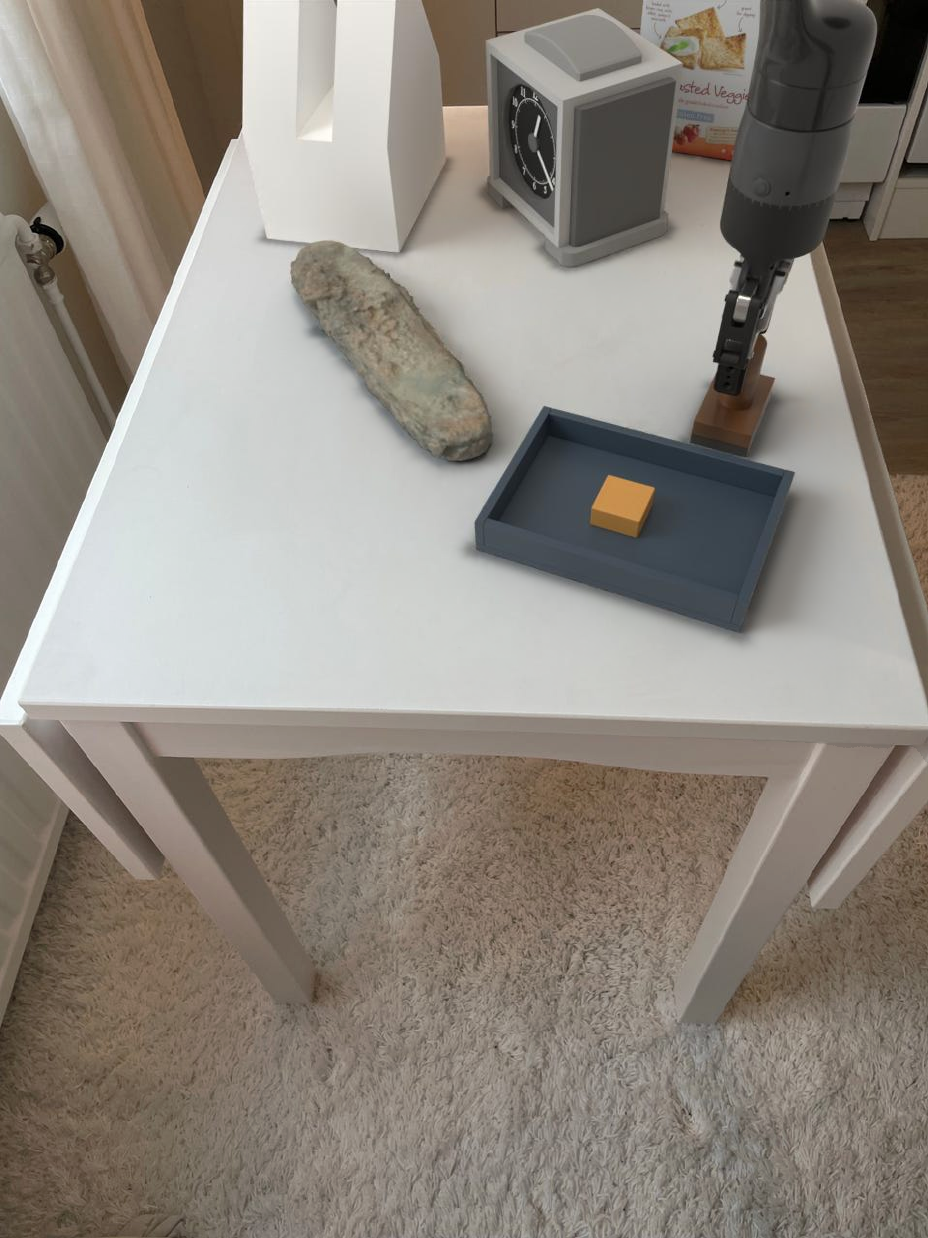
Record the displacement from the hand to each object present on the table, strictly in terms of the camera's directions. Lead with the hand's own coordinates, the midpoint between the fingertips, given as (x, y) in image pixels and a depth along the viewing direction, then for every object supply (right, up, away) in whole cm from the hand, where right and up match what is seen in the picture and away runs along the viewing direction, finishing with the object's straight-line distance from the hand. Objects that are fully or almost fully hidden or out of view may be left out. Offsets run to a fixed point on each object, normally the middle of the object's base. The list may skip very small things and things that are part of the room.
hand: (740, 359), depth 79 cm
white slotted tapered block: (-35, +27, +30) cm, 53 cm away
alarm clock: (-11, +24, +27) cm, 37 cm away
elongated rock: (-31, +4, +13) cm, 34 cm away
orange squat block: (-10, -13, -2) cm, 17 cm away
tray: (-9, -14, -1) cm, 17 cm away
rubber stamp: (+1, -4, +5) cm, 7 cm away
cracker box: (+4, +35, +34) cm, 48 cm away
